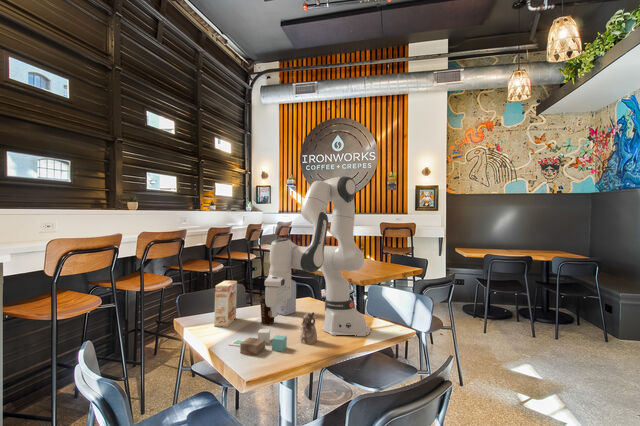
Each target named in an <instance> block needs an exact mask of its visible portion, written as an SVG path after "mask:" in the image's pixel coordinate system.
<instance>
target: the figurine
mask: <svg viewBox="0 0 640 426" xmlns="http://www.w3.org/2000/svg"><path fill="white" fill-rule="evenodd" d="M315 314H316V313H315V312H313V311H312V312H311V313H310V312H307V313H305V314H304V315H303V319H302V323H300V325H301V327H302V328H301V332H300V337H299V339H300V340H299V343H301V344H303V345H315V344H316V343H317V340H318V335H317V334H318V332H317V328H316V326H315V325H316V318H315V317H314V315H315Z"/></svg>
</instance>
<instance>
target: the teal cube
mask: <svg viewBox="0 0 640 426" xmlns="http://www.w3.org/2000/svg"><path fill="white" fill-rule="evenodd" d="M287 340H288V339H287V335H279V334H278V335H277V334H276V335H275V336H273V337H272V338H271V351H275V352H284V351H285V350H286V349H287V346H288V345H287Z"/></svg>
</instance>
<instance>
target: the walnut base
mask: <svg viewBox="0 0 640 426" xmlns="http://www.w3.org/2000/svg"><path fill="white" fill-rule="evenodd" d="M244 340H245V341H243V342H242V343H240V346H239V347H240V350H239V353H240V354H242V355H243V354H244V355H248V356H249V355H250V356H256V357H257V356H259V355H260V354H261V353H262V352H264V351H265V350H266V343H265V339H258V337H257V338H255V337H248V338H247V339H244Z"/></svg>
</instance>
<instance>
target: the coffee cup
mask: <svg viewBox="0 0 640 426" xmlns="http://www.w3.org/2000/svg"><path fill="white" fill-rule="evenodd" d="M259 303H260V304H259V305H260V318H261V319H260V320H261V325H264V326H268V325H269V326H270V325H273V324H275V319H276V317H272V311H271V307H267V306H266V303H265V295H263V296H261V299H260V300H259Z"/></svg>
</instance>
